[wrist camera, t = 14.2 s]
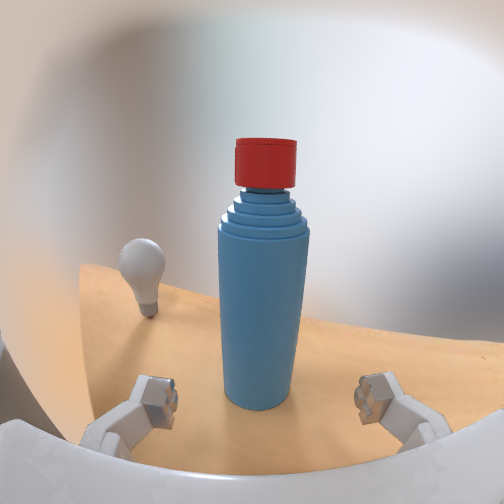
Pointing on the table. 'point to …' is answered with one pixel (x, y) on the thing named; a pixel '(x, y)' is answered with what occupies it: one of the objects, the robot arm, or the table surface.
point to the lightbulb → (143, 272)
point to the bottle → (261, 294)
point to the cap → (265, 163)
